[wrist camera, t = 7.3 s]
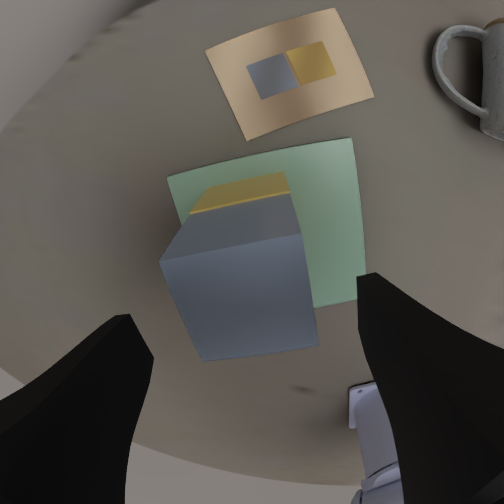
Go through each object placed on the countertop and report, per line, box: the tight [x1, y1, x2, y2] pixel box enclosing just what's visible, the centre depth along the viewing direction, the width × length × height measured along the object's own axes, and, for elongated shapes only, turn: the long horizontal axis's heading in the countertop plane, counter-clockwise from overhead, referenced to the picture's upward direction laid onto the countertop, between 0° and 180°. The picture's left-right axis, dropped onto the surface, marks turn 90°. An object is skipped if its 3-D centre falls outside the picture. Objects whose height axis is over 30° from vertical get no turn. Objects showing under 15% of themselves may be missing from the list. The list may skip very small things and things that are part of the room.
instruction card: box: [205, 8, 374, 141], centre depth 14 cm, size 8×6×1 cm
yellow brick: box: [190, 171, 291, 214], centre depth 16 cm, size 4×4×4 cm
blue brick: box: [158, 193, 319, 361], centre depth 12 cm, size 4×4×4 cm
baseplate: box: [166, 137, 366, 308], centre depth 19 cm, size 11×11×1 cm
